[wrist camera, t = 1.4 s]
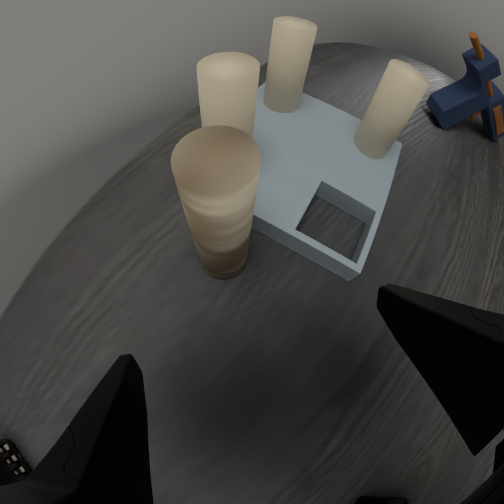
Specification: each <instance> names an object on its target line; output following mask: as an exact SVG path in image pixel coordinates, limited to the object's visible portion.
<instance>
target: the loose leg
mask: <svg viewBox="0 0 504 504" xmlns="http://www.w3.org/2000/svg"><path fill="white" fill-rule="evenodd" d="M260 163H261V152H260V149H259V146H258V145H257V143H256V141H255V140H254V139H253V138H252V137H251V136H250V135H248V134H247V133H245V132H244V131H242V130H239V129H237V128H234V127H230V126H222V125H215V126H207V127H203V128H200V129H197V130H195V131H193V132H191V133H189V134H187V135H186V136H185V137H183V138H182V139H181V140H180V141H179V142H178V144H177V145H176V146H175V148H174V150H173V153H172V156H171V167H172V171H173V175H174V178H175V182H176V185H177V189H178V192H179V195H180V199H181V202H182V206H183V209H184V212H185V215H186V219H187V222H188V225H189V228H190V232H191V235H192V238H193V241H194V244H195V247H196V250H197V253H198V256H199V259H200V262H201V265H202V268H203V269H204V271H205V272H206V273H207V274H208V275H210V276H211V277H213V278H216V279H220V280H226V279H231V278H234V277H235V276H237V275H238V274H240V273H241V272H242V270H243V269H244V267H245V265H246V262H247V255H248V248H249V241H250V234H251V226H252V219H253V212H254V205H255V198H256V191H257V184H258V177H259V170H260Z"/></svg>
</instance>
